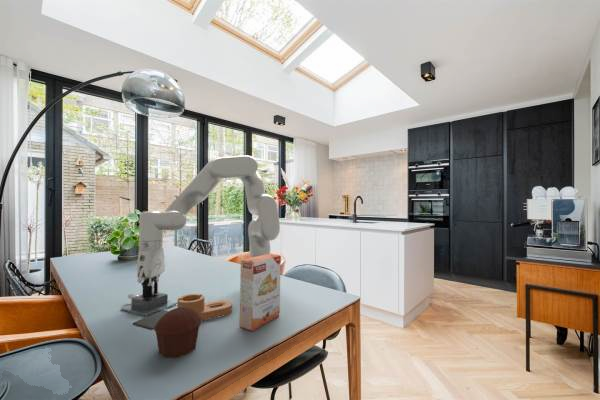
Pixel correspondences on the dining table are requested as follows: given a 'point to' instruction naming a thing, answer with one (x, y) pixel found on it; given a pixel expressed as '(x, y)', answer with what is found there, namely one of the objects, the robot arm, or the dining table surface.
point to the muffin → (177, 332)
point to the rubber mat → (150, 320)
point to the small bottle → (152, 287)
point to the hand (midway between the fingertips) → (150, 294)
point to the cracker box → (259, 290)
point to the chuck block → (148, 304)
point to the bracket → (205, 306)
